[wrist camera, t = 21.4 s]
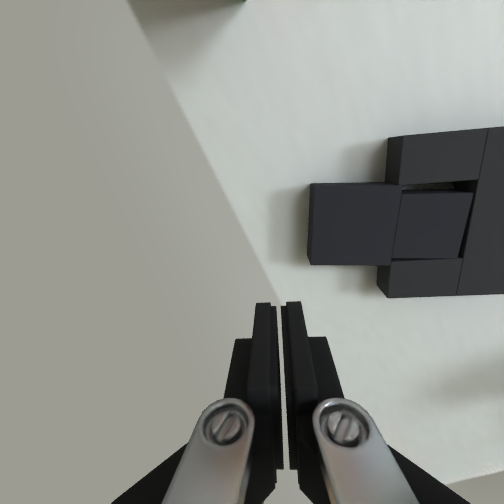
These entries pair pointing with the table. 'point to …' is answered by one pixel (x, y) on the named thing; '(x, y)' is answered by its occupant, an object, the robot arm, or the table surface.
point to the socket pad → (478, 221)
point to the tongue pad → (383, 223)
